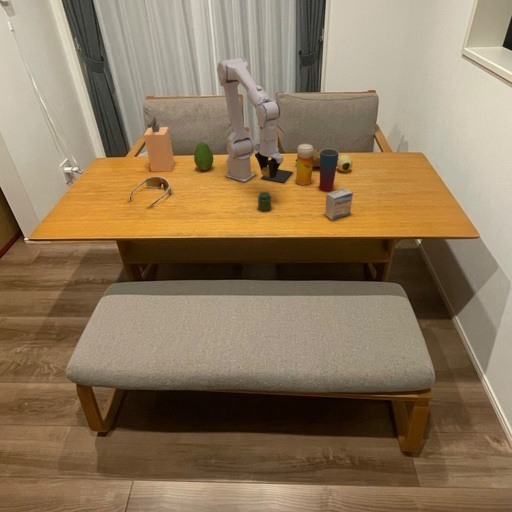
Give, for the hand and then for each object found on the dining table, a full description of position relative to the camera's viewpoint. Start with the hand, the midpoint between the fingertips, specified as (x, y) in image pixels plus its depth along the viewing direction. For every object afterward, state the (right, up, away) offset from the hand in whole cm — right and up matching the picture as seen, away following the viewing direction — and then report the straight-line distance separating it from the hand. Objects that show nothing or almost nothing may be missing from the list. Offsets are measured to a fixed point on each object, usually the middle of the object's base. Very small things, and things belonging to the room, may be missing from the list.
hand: (268, 174), depth 141 cm
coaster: (+4, +4, +19) cm, 20 cm away
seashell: (+20, +9, +26) cm, 34 cm away
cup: (+23, -4, +10) cm, 25 cm away
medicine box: (+24, -15, -5) cm, 29 cm away
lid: (0, +1, -1) cm, 2 cm away
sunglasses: (-45, -7, +9) cm, 46 cm away
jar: (-1, -12, 0) cm, 12 cm away
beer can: (+15, 0, +15) cm, 21 cm away
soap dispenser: (-45, +8, +28) cm, 54 cm away
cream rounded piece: (+32, +6, +22) cm, 39 cm away
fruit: (-27, +8, +27) cm, 38 cm away
